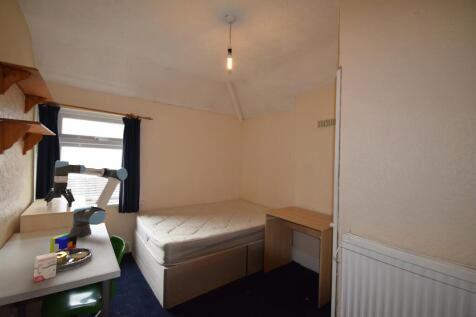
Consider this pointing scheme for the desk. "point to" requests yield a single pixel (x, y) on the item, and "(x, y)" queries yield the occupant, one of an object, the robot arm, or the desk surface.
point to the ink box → (45, 266)
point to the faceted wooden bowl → (61, 258)
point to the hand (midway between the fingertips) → (58, 211)
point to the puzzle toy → (63, 242)
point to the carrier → (74, 258)
